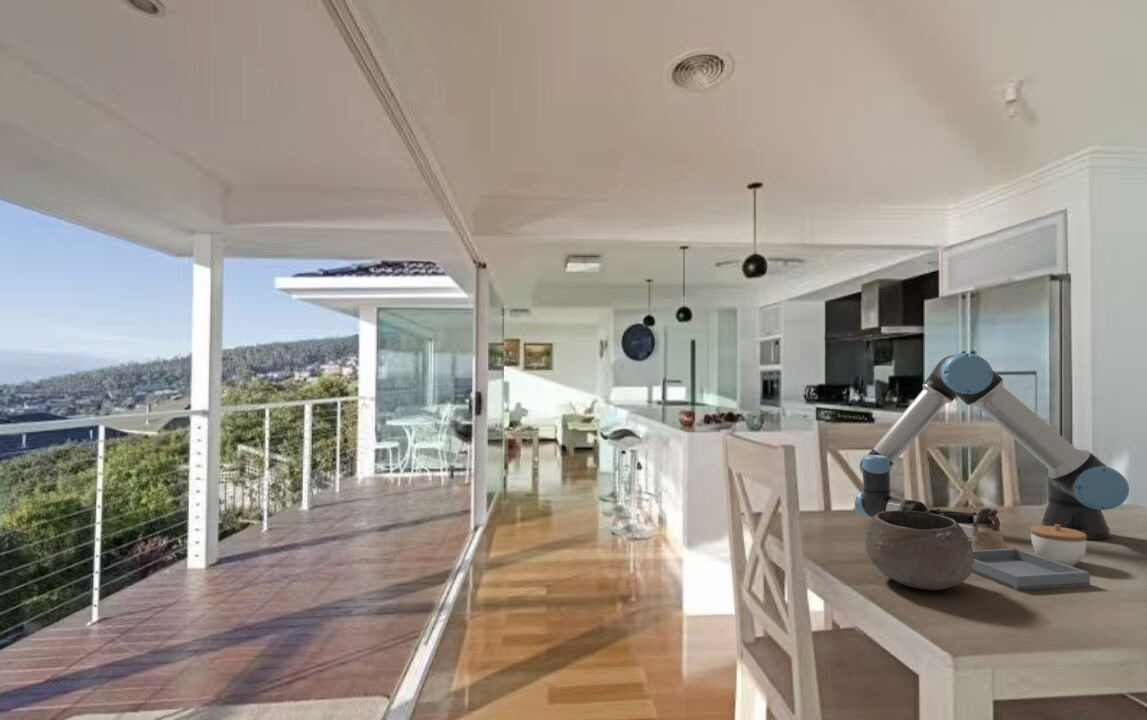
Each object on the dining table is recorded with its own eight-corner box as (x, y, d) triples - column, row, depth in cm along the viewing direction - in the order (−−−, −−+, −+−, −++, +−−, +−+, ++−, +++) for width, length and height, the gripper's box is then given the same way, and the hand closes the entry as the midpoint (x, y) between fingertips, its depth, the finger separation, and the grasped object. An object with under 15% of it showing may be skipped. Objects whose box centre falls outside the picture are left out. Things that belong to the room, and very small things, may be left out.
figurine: (988, 548, 151) (986, 503, 152) (1012, 556, 144) (1010, 509, 145) (965, 550, 150) (963, 505, 151) (988, 558, 143) (986, 511, 144)
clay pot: (981, 609, 112) (979, 534, 112) (864, 591, 122) (862, 522, 123) (967, 576, 130) (965, 511, 131) (867, 563, 140) (865, 503, 141)
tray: (1015, 560, 142) (1015, 548, 142) (1089, 586, 124) (1089, 572, 124) (951, 563, 139) (951, 551, 139) (1017, 590, 121) (1016, 576, 122)
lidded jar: (1037, 565, 137) (1035, 527, 138) (1026, 553, 147) (1025, 517, 147) (1094, 572, 132) (1093, 532, 133) (1079, 559, 142) (1078, 521, 142)
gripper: (933, 520, 172) (1012, 536, 153) (881, 530, 160) (960, 550, 141) (932, 495, 172) (1011, 509, 153) (880, 504, 161) (959, 520, 142)
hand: (987, 529), depth 147 cm, fingers open, 13 cm apart
